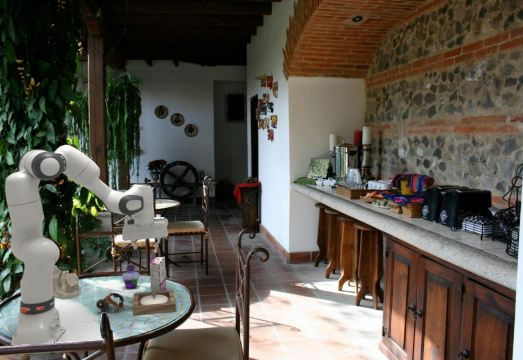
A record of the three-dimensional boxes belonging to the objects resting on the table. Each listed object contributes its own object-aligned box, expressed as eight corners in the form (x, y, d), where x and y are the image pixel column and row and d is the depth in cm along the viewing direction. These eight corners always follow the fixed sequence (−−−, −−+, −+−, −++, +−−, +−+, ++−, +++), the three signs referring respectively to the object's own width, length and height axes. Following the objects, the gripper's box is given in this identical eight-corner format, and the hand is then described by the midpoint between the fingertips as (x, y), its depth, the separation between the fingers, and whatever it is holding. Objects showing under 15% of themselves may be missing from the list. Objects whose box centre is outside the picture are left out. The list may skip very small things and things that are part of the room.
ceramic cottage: (65, 300, 212) (64, 268, 211) (44, 295, 220) (43, 264, 220) (93, 292, 225) (92, 262, 225) (72, 288, 234) (71, 259, 233)
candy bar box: (156, 288, 228) (155, 256, 226) (166, 288, 228) (165, 256, 226) (150, 297, 217) (149, 263, 215) (160, 297, 217) (159, 263, 215)
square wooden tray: (175, 311, 199) (175, 303, 199) (133, 315, 195) (132, 307, 194) (173, 297, 216) (173, 289, 216) (134, 300, 212) (134, 292, 212)
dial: (168, 307, 201) (168, 292, 200) (140, 309, 198) (139, 294, 198) (167, 297, 213) (166, 283, 212) (140, 299, 210) (140, 285, 209)
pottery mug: (112, 304, 209) (120, 290, 207) (121, 318, 203) (129, 304, 201) (88, 306, 199) (97, 291, 197) (98, 321, 194) (106, 305, 192)
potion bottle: (131, 291, 224) (131, 267, 223) (118, 288, 228) (117, 265, 227) (143, 286, 232) (142, 263, 231) (130, 283, 236) (129, 261, 234)
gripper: (167, 215, 212) (168, 244, 214) (121, 218, 207) (123, 248, 208) (168, 218, 206) (169, 247, 207) (120, 221, 201) (122, 252, 202)
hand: (146, 248), depth 208 cm, fingers open, 8 cm apart
